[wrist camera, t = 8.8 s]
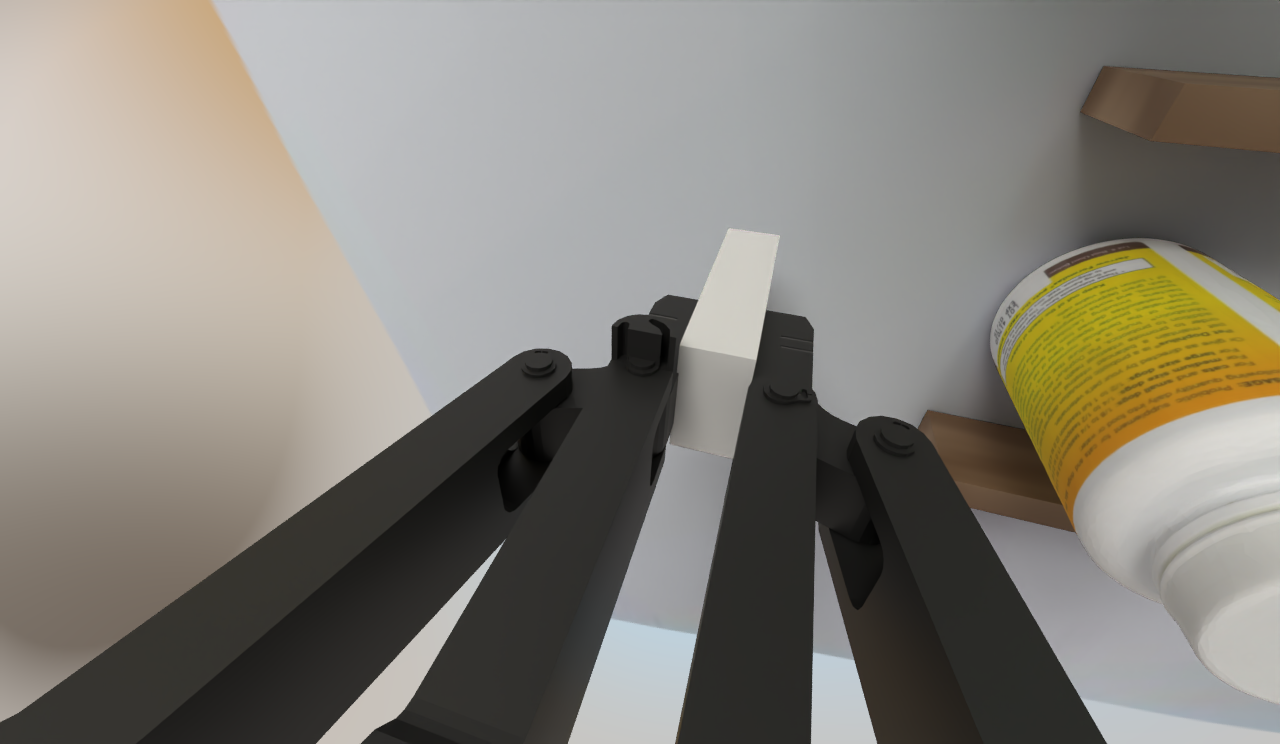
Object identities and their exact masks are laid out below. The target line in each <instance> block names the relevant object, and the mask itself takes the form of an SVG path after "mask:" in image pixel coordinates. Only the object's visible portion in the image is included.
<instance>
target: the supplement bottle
mask: <svg viewBox="0 0 1280 744" xmlns="http://www.w3.org/2000/svg"><path fill="white" fill-rule="evenodd" d="M990 348H991V353H992V357H993V361H994V363H995V366H996V368H997V370H998V373H999V375H1000V377H1001V379H1002V381H1003V383H1004V385H1005V387H1006V389H1007V391H1008V393H1009V395H1010V397H1011V399H1012V402H1013V404H1014V406H1015V408H1016V410H1017V412H1018V414H1019V416H1020V418H1021V420H1022V422H1023V424H1024V426H1025V428H1026V431H1027V433H1028V435H1029V437H1030V439H1031V441H1032V443H1033V445H1034V447H1035V449H1036V451H1037V453H1038V455H1039V458H1040V460H1041V461H1042V463H1043V465H1044V467H1045V470H1046V472H1047V474H1048V476H1049V478H1050V480H1051V483H1052V485H1053V487H1054V489H1055V491H1056V493H1057V495H1058V497H1059V499H1060V501H1061V503H1062V505H1063V507H1064V509H1065V511H1066V513H1067V515H1068V517H1069V520H1070V522H1071V524H1072V526H1073V528H1074V530H1075V532H1076V534H1077V536H1078V538H1079V539H1080V541H1081V543H1082V545H1083V546H1084V548H1085V550H1086V552H1087V553H1088V555H1089V556H1090V557H1091V559H1092V560H1093V561H1094V562H1095V563H1096V564H1097V565H1098V566H1099V568H1100V569H1101V570H1103V571H1104V572H1105V573H1106V574H1107V575H1108V576H1109V577H1111V578H1112V579H1114V580H1115V581H1117V582H1118V583H1119V584H1121V585H1122V586H1124V587H1126V588H1127V589H1129V590H1131V591H1133V592H1135V593H1137V594H1139V595H1141V596H1143V597H1145V598H1148V599H1150V600H1153V601H1155V602H1158V603H1161V604H1163V605H1164V607H1165V609H1166V610H1167V612H1168V613H1169V614H1170V616H1171V617H1172V618H1173V619H1174V620H1175V621H1176V622H1177V624H1178V625H1179V627H1180V628H1181V630H1182V632H1183V633H1184V635H1185V637H1186V639H1187V640H1188V642H1189V644H1190V646H1191V647H1192V649H1193V651H1194V653H1195V654H1196V656H1197V657H1198V659H1199V660H1200V661H1201V662H1202V664H1203V665H1204V666H1205V667H1206V668H1207V669H1208V670H1209V671H1210V672H1211V673H1212V674H1213V675H1215V676H1216V677H1217V678H1219V679H1220V680H1221V681H1223V682H1225V683H1226V684H1228V685H1230V686H1232V687H1233V688H1235V689H1237V690H1239V691H1242V692H1244V693H1246V694H1248V695H1251V696H1254V697H1257V698H1260V699H1263V700H1266V701H1269V702H1272V703H1275V704H1279V705H1280V300H1278V299H1277V298H1275V297H1274V296H1272V295H1271V294H1269V293H1267V292H1266V291H1264V290H1262V289H1261V288H1259V287H1258V286H1256V285H1254V284H1253V283H1251V282H1250V281H1248V280H1247V279H1245V278H1243V277H1242V276H1240V275H1239V274H1237V273H1236V272H1234V271H1232V270H1230V269H1229V268H1227V267H1226V266H1224V265H1222V264H1221V263H1219V262H1218V261H1216V260H1215V259H1213V258H1211V257H1210V256H1208V255H1206V254H1204V253H1202V252H1201V251H1198V250H1196V249H1194V248H1191V247H1189V246H1186V245H1183V244H1180V243H1176V242H1172V241H1166V240H1159V239H1148V238H1130V239H1119V240H1111V241H1106V242H1101V243H1097V244H1093V245H1089V246H1085V247H1082V248H1079V249H1076V250H1073V251H1071V252H1068V253H1066V254H1064V255H1061V256H1059V257H1057V258H1055V259H1053V260H1051V261H1049V262H1048V263H1046V264H1044V265H1042V266H1041V267H1039V268H1038V269H1036V270H1035V271H1033V272H1032V273H1031V274H1029V275H1028V276H1027V277H1026V278H1024V279H1023V280H1022V281H1021V282H1020V283H1019V284H1018V285H1017V286H1016V287H1015V288H1014V289H1013V290H1012V291H1011V292H1010V294H1009V295H1008V296H1007V297H1006V299H1005V300H1004V301H1003V303H1002V304H1001V306H1000V308H999V310H998V312H997V314H996V316H995V318H994V321H993V324H992V328H991V335H990Z"/></svg>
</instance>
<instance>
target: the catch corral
mask: <svg viewBox="0 0 1280 744" xmlns="http://www.w3.org/2000/svg"><path fill="white" fill-rule="evenodd" d="M1080 112H1081V113H1083V114H1086V115H1088V116H1091V117H1093V118H1096V119H1098V120H1100V121H1103V122H1105V123H1108V124H1110V125H1113V126H1115V127H1117V128H1120V129H1122V130H1125V131H1127V132H1130V133H1132V134H1135V135H1137V136H1139V137H1142V138H1144V139H1147V140H1149V141H1156V142H1167V143H1178V144H1188V145H1199V146H1210V147H1221V148H1231V149H1242V150H1253V151H1264V152H1274V153H1280V78H1271V77H1256V76H1242V75H1227V74H1212V73H1198V72H1183V71H1168V70H1154V69H1139V68H1124V67H1110V66H1103V68H1102V70H1101V72H1100V74H1099V76H1098V78H1097V80H1096V82H1095V84H1094V86H1093V88H1092V90H1091V92H1090V94H1089V96H1088V98H1087V100H1086V102H1085V104H1084V106H1083V107H1082V109H1081V111H1080ZM918 430H920V431H921V432H923V433H924V434H925V435H926V437H927V438H928V439H929V440H930V441H931V442H932V444H933V445H934V447H935V449H936V450H937V452H938V454H939V456H940V457H941V459H942V461H943V463H944V464H945V466H946V468H947V469H948V471H949V473H950V475H951V476H952V478H953V480H954V481H955V483H956V485H957V487H958V488H959V490H960V492H961V493H962V495H963V497H964V499H965V500H966V502H967V504H968V506H969V507H970V508H973V509H978V510H982V511H986V512H990V513H995V514H999V515H1003V516H1007V517H1012V518H1016V519H1020V520H1024V521H1029V522H1033V523H1037V524H1041V525H1046V526H1050V527H1054V528H1058V529H1063V530H1067V531H1071V532H1075V530H1074V528H1073V526H1072V524H1071V522H1070V520H1069V517H1068V515H1067V513H1066V511H1065V509H1064V507H1063V505H1062V503H1061V501H1060V499H1059V497H1058V495H1057V493H1056V491H1055V489H1054V487H1053V485H1052V483H1051V480H1050V478H1049V476H1048V474H1047V472H1046V470H1045V467H1044V465H1043V463H1042V461H1041V460H1040V458H1039V455H1038V453H1037V451H1036V449H1035V447H1034V445H1033V443H1032V441H1031V439H1030V437H1029V435H1028V433H1027V431H1026V430H1024V429H1019V428H1014V427H1009V426H1004V425H999V424H994V423H989V422H984V421H979V420H974V419H969V418H964V417H959V416H954V415H949V414H944V413H939V412H935V411H930V410H927V412H926V414H925V416H924V418H923V420H922V422H921V424H920V426H919V427H918Z"/></svg>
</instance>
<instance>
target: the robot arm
mask: <svg viewBox="0 0 1280 744" xmlns="http://www.w3.org/2000/svg"><path fill="white" fill-rule="evenodd" d="M779 238H780V235H774V234H767V233H760V232H753V231H746V230H739V229H732V228H729V229H728V231H727V233H726V236H725V238H724V241H723V243H722V245H721V248H720V250H719V252H718V255H717V257H716V260H715V262H714V264H713V267H712V269H711V271H710V274H709V276H708V279H707V281H706V283H705V286H704V288H703V291H702V293H701V295H700V298H699V300H695V299H690V298H684V297H678V296H672V295H667V296H665V297H664V298H662V299H660V300H659V301H657V302H655V304H654V306H653V308H652V309H651V311H650V313H649V315H641V314H639V315H632V316H627V317H624V318H622V319H619V320H617V321H616V322H615V323H614V324H613V325H612V360H611V361H610V363H609V365H608V366H606V367H602V368H592V369H572V363H571V361H570V359H569V358H568V356H566V355H565V354H563V353H561V352H560V351H556V350H552V349H533V350H529V351H524V352H522V353H520V354H518V355H516V356H514V357H513V358H512V359H510V360H509V361H507V362H506V363H505V364H503V365H502V366H501V367H499V368H498V369H496V370H495V371H494V372H492V373H491V374H489V375H488V376H487V377H485V378H484V379H482V380H481V381H480V382H478V383H477V384H475V385H474V386H473V387H471V388H470V389H469V390H467V391H466V392H464V393H463V394H462V395H460V396H459V397H457V398H456V399H455V400H453V401H452V402H450V403H449V404H448V405H446V406H445V407H443V408H442V409H441V410H439V411H438V412H437V413H435V414H434V415H432V416H431V417H430V418H428V419H427V420H425V421H424V422H423V423H421V424H420V425H419V426H417V427H416V428H414V429H413V430H411V431H410V432H409V433H407V434H406V435H405V436H403V437H402V438H400V439H399V440H398V441H396V442H395V443H393V444H392V445H391V446H389V447H388V448H387V449H385V450H384V451H382V452H381V453H380V454H378V455H377V456H375V457H374V458H373V459H371V460H370V461H369V462H367V463H366V464H364V465H363V466H361V467H360V468H359V469H357V470H356V471H354V472H353V473H352V474H350V475H349V476H348V477H346V478H345V479H343V480H342V481H341V482H339V483H338V484H336V485H335V486H334V487H332V488H331V489H329V490H328V491H327V492H325V493H324V494H323V495H321V496H320V497H318V498H317V499H316V500H314V501H313V502H312V503H310V504H309V505H307V506H306V507H304V508H303V509H302V510H300V511H299V512H297V513H296V514H295V515H293V516H292V517H291V518H289V519H288V520H286V521H285V522H284V523H282V524H281V525H279V526H278V527H277V528H275V529H274V530H272V531H271V532H270V533H268V534H267V535H266V536H264V537H263V538H262V539H260V540H259V541H257V542H256V543H254V544H253V545H252V546H250V547H249V548H247V549H246V550H245V551H243V552H242V553H240V554H239V555H238V556H236V557H235V558H233V559H232V560H231V561H229V562H228V563H227V564H225V565H224V566H222V567H221V568H220V569H218V570H217V571H215V572H214V573H213V574H211V575H210V576H208V577H207V578H206V579H204V580H203V581H202V582H200V583H199V584H197V585H196V586H194V587H193V588H192V589H190V590H189V591H188V592H186V593H185V594H183V595H182V596H181V597H179V598H178V599H176V600H175V601H174V602H172V603H171V604H170V605H168V606H167V607H165V608H164V609H162V610H161V611H160V612H158V613H157V614H156V615H154V616H153V617H151V618H150V619H149V620H147V621H146V622H145V623H143V624H142V625H140V626H139V627H138V628H136V629H135V630H133V631H132V632H130V633H129V634H128V635H126V636H125V637H124V638H122V639H121V640H119V641H118V642H117V643H115V644H114V645H112V646H111V647H110V648H108V649H107V650H105V651H104V652H103V653H101V654H100V655H99V656H97V657H96V658H94V659H93V660H92V661H90V662H89V663H87V664H86V665H85V666H83V667H82V668H80V669H79V670H78V671H76V672H75V673H73V674H72V675H71V676H69V677H68V678H67V679H65V680H64V681H62V682H61V683H60V684H58V685H57V686H55V687H54V688H53V689H51V690H50V691H48V692H47V693H46V694H44V695H43V696H42V697H40V698H39V699H37V700H36V701H35V702H33V703H32V704H30V705H29V706H28V707H26V708H25V709H23V710H22V711H21V712H19V713H17V714H16V715H14V716H12V717H10V718H8V719H6V720H4V721H2V722H0V744H316V743H317V742H318V741H319V740H320V739H321V737H322V736H323V735H324V734H325V733H326V732H327V731H328V730H329V729H330V728H331V727H332V726H333V724H334V723H335V722H336V721H337V720H338V719H339V718H340V717H341V716H342V715H343V714H344V713H345V712H346V711H347V709H348V708H349V707H350V706H351V705H352V704H353V703H354V702H355V701H356V700H357V699H358V697H360V695H361V694H362V693H363V692H364V691H365V690H366V689H367V688H368V687H369V686H370V685H371V684H372V683H373V681H374V680H375V679H376V678H377V677H378V676H379V675H380V674H381V673H382V672H383V671H384V670H385V669H386V667H387V666H388V665H389V664H390V663H391V662H392V661H393V660H394V659H395V658H396V657H397V655H399V653H400V652H401V651H402V650H403V649H404V648H405V647H406V646H407V645H408V644H409V643H410V642H411V641H412V639H413V638H414V637H415V636H416V635H417V634H418V633H419V632H420V631H421V629H423V628H424V627H425V625H426V624H427V623H428V622H429V621H430V620H431V619H432V618H433V617H434V616H435V615H436V614H437V613H438V611H439V610H440V609H441V608H442V607H443V606H444V605H445V604H446V603H447V602H448V601H449V600H450V598H451V597H452V596H453V595H454V594H455V593H456V592H457V591H458V590H459V589H460V588H461V587H462V586H463V584H464V583H465V582H466V581H467V580H468V579H469V578H470V577H471V576H472V575H473V574H474V572H476V570H477V569H478V568H479V567H480V566H481V565H482V564H483V563H484V562H485V560H487V559H488V557H489V556H490V555H491V554H492V553H493V552H494V551H495V550H496V549H497V548H498V547H499V546H500V545H501V544H502V542H503V541H504V540H505V539H506V540H505V542H504V543H503V545H502V547H501V548H500V550H499V552H498V554H497V555H496V557H495V559H494V560H493V562H492V564H491V565H490V567H489V569H488V571H487V572H486V574H485V576H484V577H483V579H482V581H481V582H480V584H479V586H478V588H477V589H476V591H475V593H474V594H473V596H472V598H471V599H470V601H469V603H468V605H467V606H466V608H465V610H464V611H463V613H462V615H461V617H460V618H459V620H458V622H457V623H456V625H455V627H454V628H453V630H452V632H451V634H450V635H449V637H448V639H447V640H446V642H445V644H444V646H443V647H442V649H441V651H440V652H439V654H438V656H437V657H436V659H435V661H434V662H433V664H432V666H431V668H430V669H429V671H428V673H427V675H426V676H425V678H424V680H423V681H422V683H421V685H420V686H419V688H418V690H417V691H416V693H415V695H414V697H413V698H412V699H411V701H410V702H409V704H408V705H407V707H406V708H405V710H404V711H403V712H402V713H401V714H400V715H399V716H398V717H397V718H396V719H394V720H392V721H390V722H388V723H386V724H384V725H382V726H381V727H379V728H377V729H375V730H374V731H373V732H372V733H371V734H370V735H369V736H368V737H367V738H366V739H365V740H364V741H363V742H362V743H361V744H568V741H569V738H570V735H571V732H572V729H573V726H574V723H575V721H576V718H577V715H578V712H579V709H580V706H581V703H582V700H583V697H584V694H585V691H586V688H587V685H588V683H589V680H590V677H591V674H592V671H593V668H594V665H595V662H596V659H597V656H598V653H599V650H600V648H601V645H602V642H603V639H604V636H605V633H606V630H607V627H608V624H609V621H610V618H611V616H612V613H613V610H614V607H615V604H616V601H617V598H618V595H619V592H620V589H621V586H622V583H623V581H624V578H625V575H626V572H627V569H628V566H629V563H630V560H631V557H632V554H633V551H634V548H635V545H636V543H637V540H638V537H639V534H640V531H641V528H642V525H643V522H644V519H645V516H646V513H647V510H648V508H649V505H650V502H651V499H652V496H653V493H654V490H655V487H656V484H657V481H658V478H659V475H660V473H661V470H662V467H663V464H664V460H665V450H666V444H667V441H668V438H669V435H670V444H672V445H676V446H680V447H684V448H689V449H693V450H697V451H701V452H706V453H710V454H714V455H718V456H723V457H727V458H731V459H733V462H732V467H731V471H730V476H729V481H728V485H727V490H726V494H725V499H724V505H723V510H722V515H721V520H720V525H719V530H718V535H717V540H716V545H715V550H714V555H713V560H712V565H711V569H710V574H709V579H708V584H707V589H706V594H705V599H704V604H703V609H702V614H701V619H700V624H699V629H698V634H697V639H696V644H695V648H694V653H693V659H692V663H691V668H690V673H689V678H688V683H687V688H686V693H685V698H684V703H683V708H682V712H681V717H680V722H679V727H678V732H677V737H676V742H675V744H811V709H812V661H813V611H814V561H815V521H817V522H818V525H819V533H820V537H821V540H822V544H823V548H824V551H825V555H826V558H827V562H828V566H829V569H830V573H831V577H832V580H833V584H834V588H835V591H836V595H837V598H838V602H839V606H840V609H841V613H842V617H843V620H844V624H845V628H846V631H847V635H848V639H849V642H850V646H851V649H852V653H853V657H854V660H855V664H856V668H857V671H858V675H859V679H860V682H861V686H862V689H863V693H864V697H865V700H866V704H867V708H868V711H869V715H870V718H871V722H872V726H873V729H874V733H875V737H876V740H877V744H1107V743H1106V741H1105V740H1104V738H1103V736H1102V734H1101V733H1100V731H1099V729H1098V728H1097V726H1096V724H1095V722H1094V721H1093V719H1092V717H1091V716H1090V714H1089V712H1088V710H1087V709H1086V707H1085V705H1084V703H1083V702H1082V700H1081V698H1080V697H1079V695H1078V693H1077V691H1076V690H1075V688H1074V686H1073V685H1072V683H1071V681H1070V679H1069V678H1068V676H1067V674H1066V672H1065V671H1064V669H1063V667H1062V666H1061V664H1060V662H1059V660H1058V659H1057V657H1056V655H1055V654H1054V652H1053V650H1052V648H1051V647H1050V645H1049V643H1048V641H1047V640H1046V638H1045V636H1044V635H1043V633H1042V631H1041V629H1040V628H1039V626H1038V624H1037V623H1036V621H1035V619H1034V617H1033V616H1032V614H1031V612H1030V611H1029V609H1028V607H1027V605H1026V604H1025V602H1024V600H1023V598H1022V597H1021V595H1020V593H1019V592H1018V590H1017V588H1016V586H1015V585H1014V583H1013V581H1012V580H1011V578H1010V576H1009V574H1008V573H1007V571H1006V569H1005V567H1004V566H1003V564H1002V562H1001V561H1000V559H999V557H998V555H997V554H996V552H995V550H994V549H993V547H992V545H991V543H990V542H989V540H988V538H987V537H986V535H985V533H984V531H983V530H982V528H981V526H980V524H979V523H978V521H977V519H976V518H975V516H974V514H973V512H972V511H971V509H970V507H969V506H968V504H967V502H966V500H965V499H964V497H963V495H962V493H961V492H960V490H959V488H958V487H957V485H956V483H955V481H954V480H953V478H952V476H951V475H950V473H949V471H948V469H947V468H946V466H945V464H944V463H943V461H942V459H941V457H940V456H939V454H938V452H937V450H936V449H935V447H934V445H933V444H932V442H931V441H930V440H929V439H928V438H927V437H926V435H925V434H924V433H923V432H921V431H920V430H918V429H917V428H915V427H914V426H912V425H911V424H908V423H906V422H904V421H901V420H899V419H896V418H890V417H885V416H875V417H868V418H866V419H864V420H862V421H860V422H859V424H858V425H857V426H854V425H852V424H850V423H847V422H845V421H843V420H841V419H839V418H837V417H835V416H833V415H831V414H830V413H828V412H827V411H825V410H824V409H823V408H822V407H821V406H820V405H819V404H818V400H817V397H816V394H815V392H814V391H813V390H812V371H813V338H814V329H813V327H812V326H811V324H810V323H809V321H808V320H807V319H806V317H802V316H796V315H791V314H785V313H779V312H773V311H767V310H766V307H767V301H768V296H769V291H770V285H771V280H772V275H773V269H774V264H775V259H776V254H777V248H778V243H779ZM670 432H671V434H670Z"/></svg>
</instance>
